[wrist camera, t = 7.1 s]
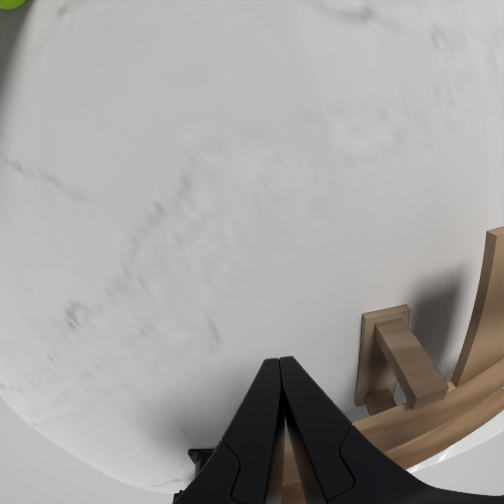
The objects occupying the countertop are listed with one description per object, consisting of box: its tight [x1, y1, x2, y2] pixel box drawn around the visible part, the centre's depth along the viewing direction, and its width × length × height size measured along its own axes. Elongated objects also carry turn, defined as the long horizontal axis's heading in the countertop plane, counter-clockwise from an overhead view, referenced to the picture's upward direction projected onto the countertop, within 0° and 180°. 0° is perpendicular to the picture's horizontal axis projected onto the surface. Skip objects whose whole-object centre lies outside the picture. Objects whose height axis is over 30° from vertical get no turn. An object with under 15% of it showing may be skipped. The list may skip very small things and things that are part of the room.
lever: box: [281, 227, 504, 504], centre depth 14 cm, size 17×24×5 cm
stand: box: [355, 304, 449, 416], centre depth 19 cm, size 11×4×9 cm, turn 9°
